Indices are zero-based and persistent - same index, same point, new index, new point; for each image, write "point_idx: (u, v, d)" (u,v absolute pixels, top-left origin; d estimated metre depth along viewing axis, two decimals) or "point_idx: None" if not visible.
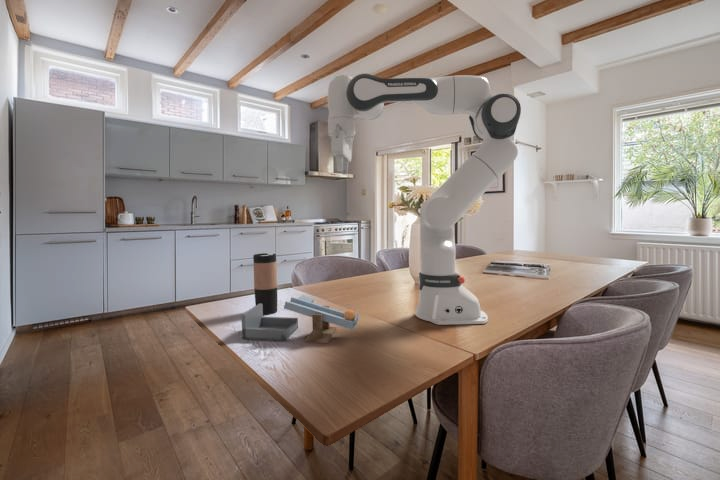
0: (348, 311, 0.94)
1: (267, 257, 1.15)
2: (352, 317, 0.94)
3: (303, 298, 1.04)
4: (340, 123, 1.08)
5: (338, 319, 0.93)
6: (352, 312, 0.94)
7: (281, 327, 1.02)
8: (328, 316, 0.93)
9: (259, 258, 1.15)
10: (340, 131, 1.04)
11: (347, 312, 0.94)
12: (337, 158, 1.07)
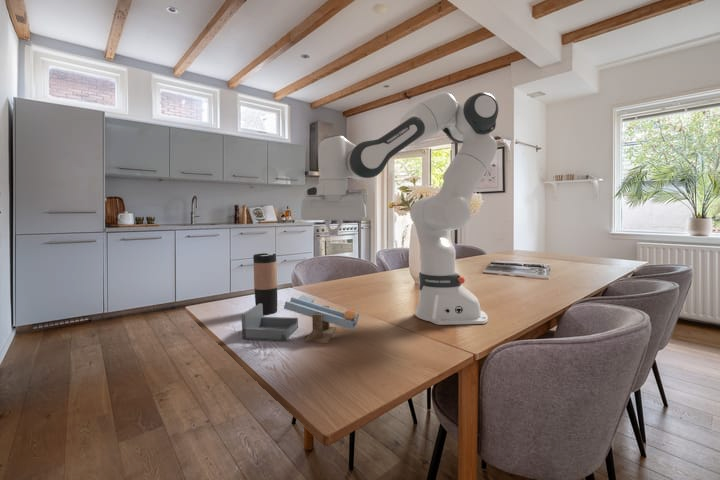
0: (348, 311, 0.94)
1: (267, 257, 1.15)
2: (352, 317, 0.94)
3: (303, 298, 1.04)
4: (347, 186, 1.06)
5: (338, 319, 0.93)
6: (352, 312, 0.94)
7: (281, 327, 1.02)
8: (328, 316, 0.93)
9: (259, 258, 1.15)
10: None
11: (347, 312, 0.94)
12: (341, 222, 1.07)
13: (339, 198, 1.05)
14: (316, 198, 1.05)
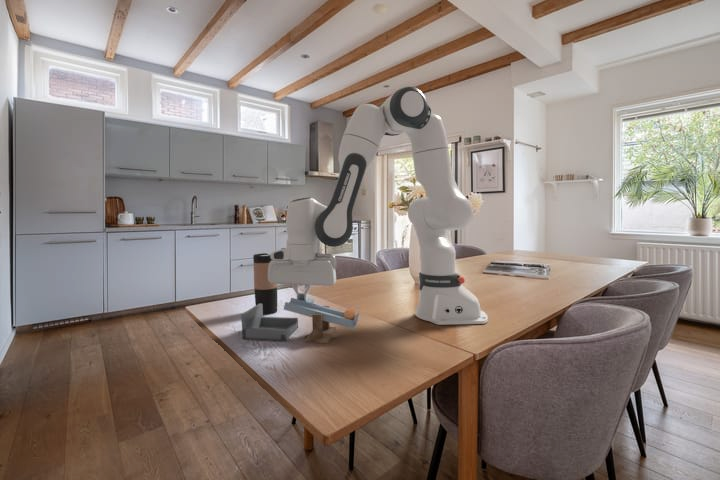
0: (348, 310, 0.94)
1: (267, 257, 1.15)
2: (352, 316, 0.94)
3: None
4: (316, 250, 1.02)
5: (338, 318, 0.93)
6: (352, 311, 0.94)
7: (281, 327, 1.02)
8: (328, 316, 0.93)
9: (259, 258, 1.15)
10: None
11: (347, 311, 0.94)
12: (309, 287, 1.02)
13: (307, 263, 1.00)
14: (283, 262, 1.00)
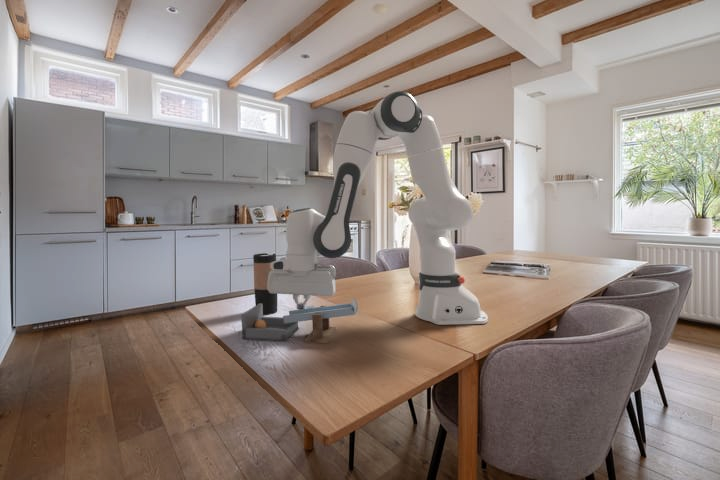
0: (263, 326, 0.98)
1: (267, 257, 1.15)
2: None
3: None
4: (316, 260, 1.02)
5: (337, 311, 0.93)
6: None
7: (281, 327, 1.02)
8: (327, 312, 0.93)
9: (259, 258, 1.15)
10: None
11: (262, 326, 0.98)
12: (308, 297, 1.02)
13: (307, 273, 1.00)
14: (283, 273, 1.01)
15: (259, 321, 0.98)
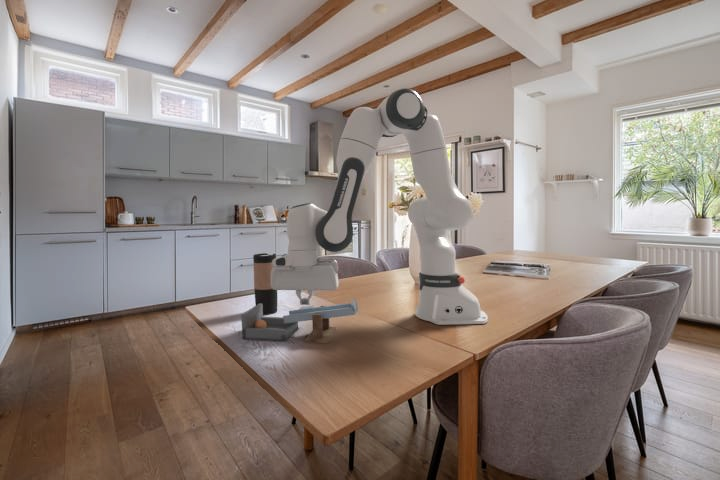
0: (264, 327, 0.98)
1: (267, 257, 1.15)
2: None
3: (302, 308, 1.04)
4: None
5: (337, 311, 0.93)
6: None
7: (281, 327, 1.02)
8: (327, 312, 0.93)
9: (259, 258, 1.15)
10: None
11: (263, 326, 0.98)
12: (312, 292, 1.03)
13: (309, 268, 1.00)
14: (285, 269, 1.01)
15: (260, 321, 0.98)
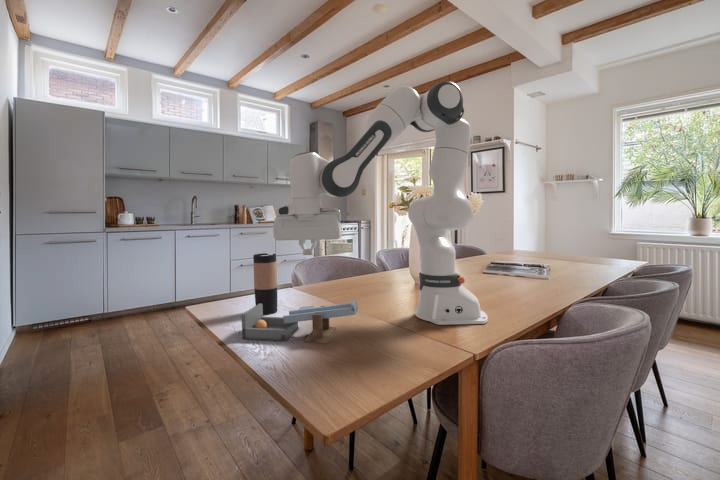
0: (264, 327, 0.98)
1: (267, 257, 1.15)
2: None
3: (302, 308, 1.04)
4: None
5: (337, 311, 0.93)
6: None
7: (281, 327, 1.02)
8: (327, 312, 0.93)
9: (259, 258, 1.15)
10: None
11: (263, 326, 0.98)
12: (315, 242, 1.03)
13: (312, 217, 1.00)
14: (288, 218, 1.01)
15: (260, 321, 0.98)
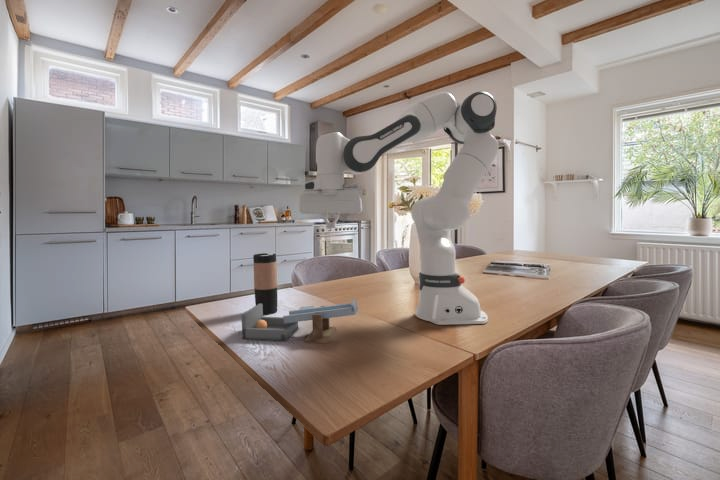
0: (264, 327, 0.98)
1: (267, 257, 1.15)
2: None
3: (302, 308, 1.04)
4: (343, 181, 1.10)
5: (337, 311, 0.93)
6: None
7: (281, 327, 1.02)
8: (327, 312, 0.93)
9: (259, 258, 1.15)
10: None
11: (263, 327, 0.98)
12: (338, 216, 1.11)
13: (336, 192, 1.09)
14: (313, 192, 1.09)
15: (261, 321, 0.98)
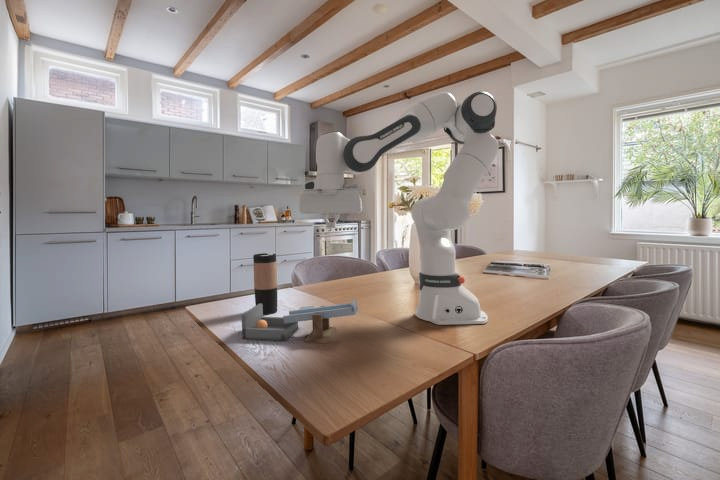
0: None
1: (267, 257, 1.15)
2: None
3: (302, 308, 1.04)
4: (343, 181, 1.10)
5: (337, 311, 0.93)
6: None
7: (281, 327, 1.02)
8: (327, 312, 0.93)
9: (259, 258, 1.15)
10: None
11: (264, 327, 0.98)
12: (338, 216, 1.11)
13: (336, 192, 1.09)
14: (313, 192, 1.09)
15: (262, 321, 0.98)
